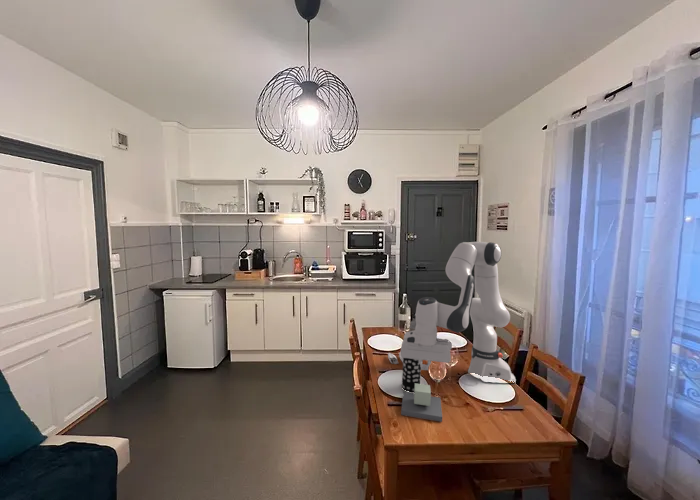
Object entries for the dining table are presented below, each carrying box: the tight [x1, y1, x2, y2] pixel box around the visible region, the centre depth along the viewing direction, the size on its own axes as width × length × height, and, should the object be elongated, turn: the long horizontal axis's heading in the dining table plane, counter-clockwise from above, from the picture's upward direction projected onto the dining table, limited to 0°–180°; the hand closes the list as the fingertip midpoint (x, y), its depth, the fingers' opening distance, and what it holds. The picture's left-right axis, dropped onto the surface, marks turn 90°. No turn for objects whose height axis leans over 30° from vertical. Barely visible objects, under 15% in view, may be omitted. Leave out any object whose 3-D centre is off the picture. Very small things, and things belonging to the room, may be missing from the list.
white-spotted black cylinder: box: [401, 358, 422, 393], centre depth 147 cm, size 8×8×20 cm
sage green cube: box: [413, 383, 432, 406], centre depth 132 cm, size 6×6×6 cm
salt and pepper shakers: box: [387, 351, 403, 365], centre depth 178 cm, size 12×4×11 cm
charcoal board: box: [400, 391, 443, 423], centre depth 132 cm, size 16×14×2 cm
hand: (424, 369), depth 131 cm, fingers closed
